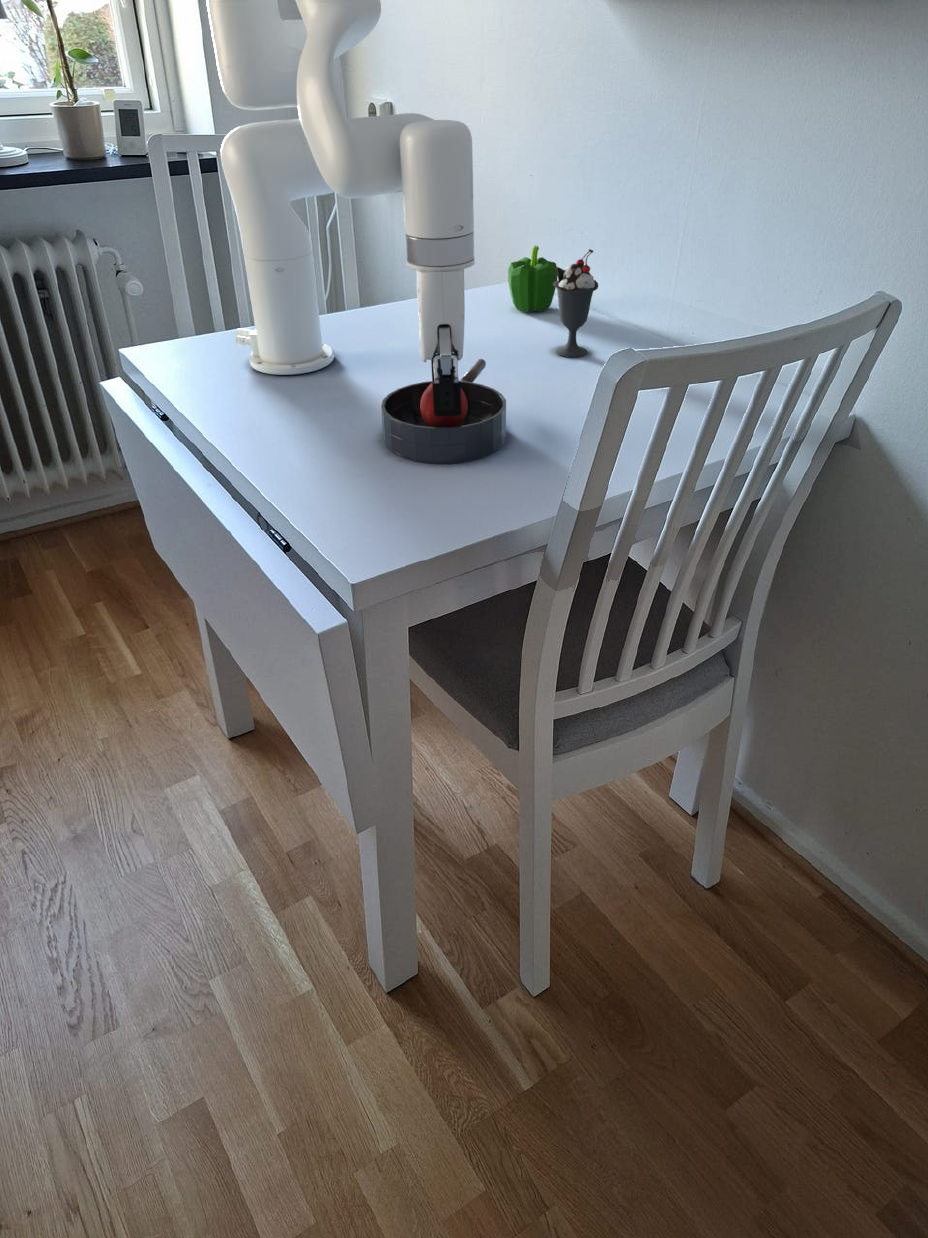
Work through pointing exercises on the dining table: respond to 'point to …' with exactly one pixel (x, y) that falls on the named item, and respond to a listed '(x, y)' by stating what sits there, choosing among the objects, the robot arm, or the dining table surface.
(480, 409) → the pan
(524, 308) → the bell pepper
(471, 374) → the pan handle
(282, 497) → the dining table surface
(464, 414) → the onion
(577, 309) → the sundae
